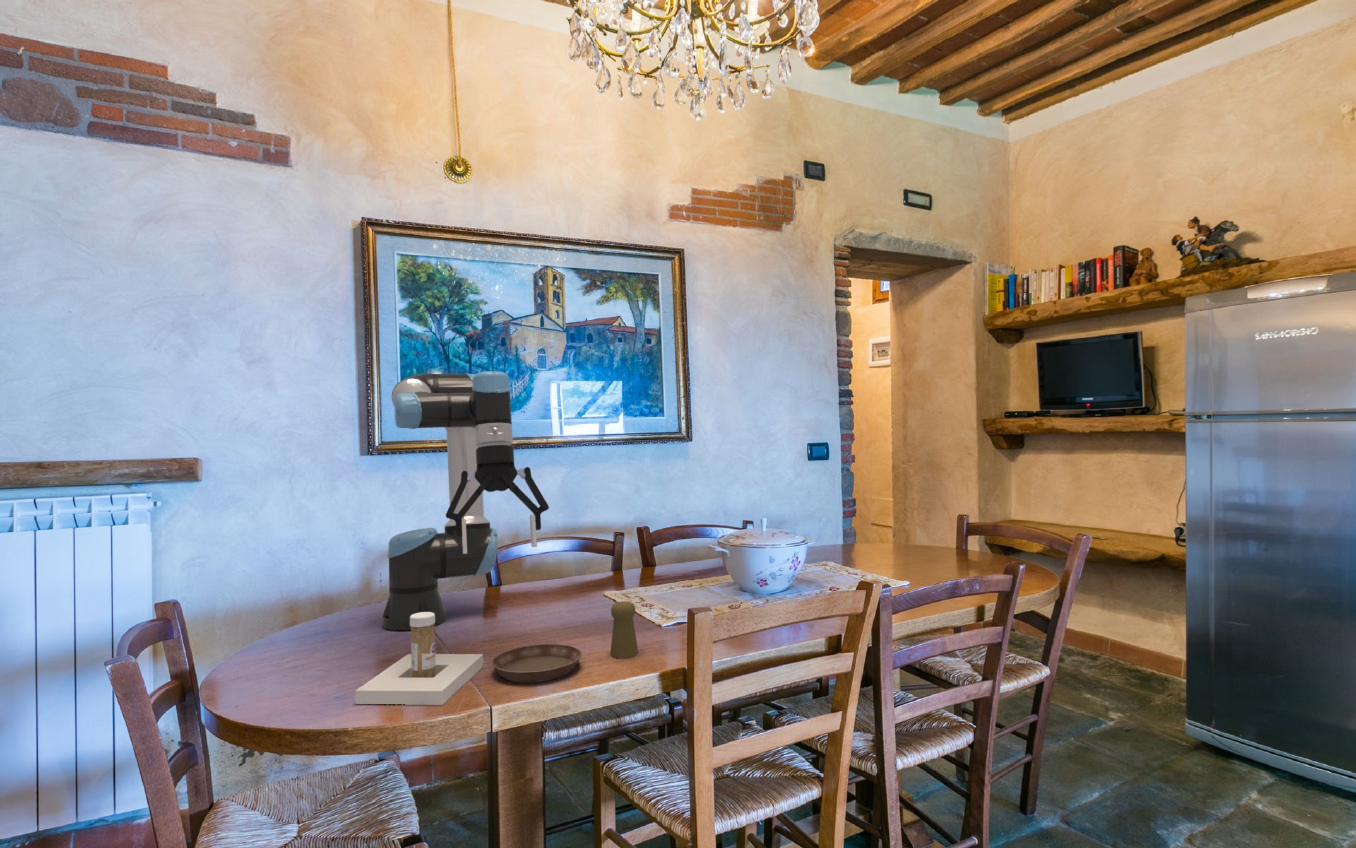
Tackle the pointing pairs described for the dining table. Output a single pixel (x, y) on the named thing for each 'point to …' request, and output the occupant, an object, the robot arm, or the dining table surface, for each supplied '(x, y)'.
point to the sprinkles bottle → (423, 645)
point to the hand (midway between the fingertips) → (500, 550)
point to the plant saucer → (536, 662)
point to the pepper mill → (623, 631)
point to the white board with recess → (420, 681)
